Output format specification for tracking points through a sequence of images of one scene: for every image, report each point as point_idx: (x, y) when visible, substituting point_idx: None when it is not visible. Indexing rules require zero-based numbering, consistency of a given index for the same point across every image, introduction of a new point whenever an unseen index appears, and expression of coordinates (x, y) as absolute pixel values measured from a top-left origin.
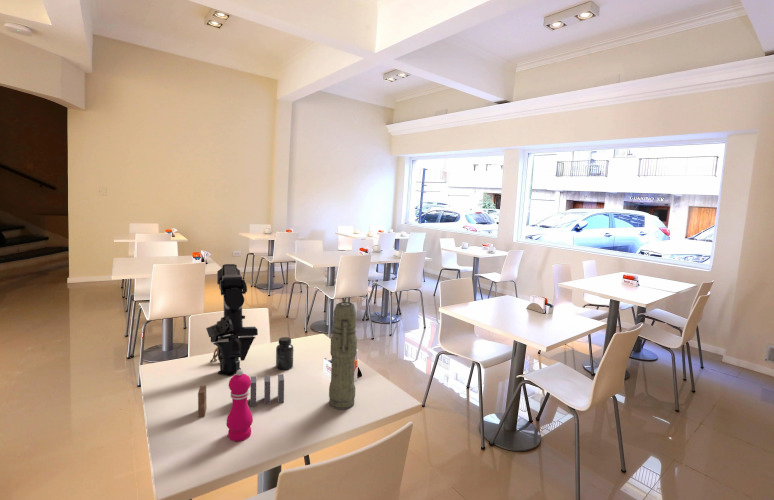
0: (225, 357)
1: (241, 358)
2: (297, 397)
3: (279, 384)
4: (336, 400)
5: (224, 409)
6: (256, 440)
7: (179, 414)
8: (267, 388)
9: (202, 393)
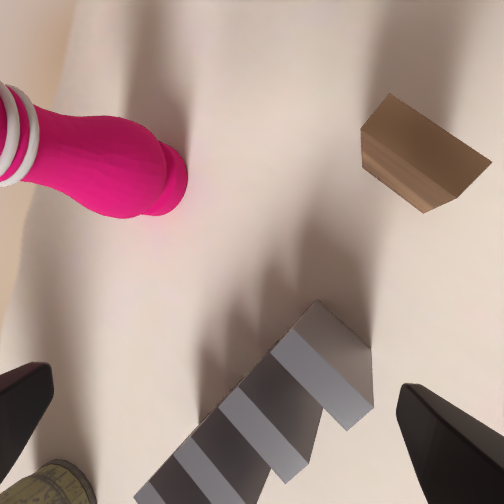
0: (445, 445)
1: (7, 373)
2: None
3: (160, 467)
4: (29, 479)
5: (343, 259)
6: None
7: (490, 94)
8: (202, 422)
9: (369, 121)
